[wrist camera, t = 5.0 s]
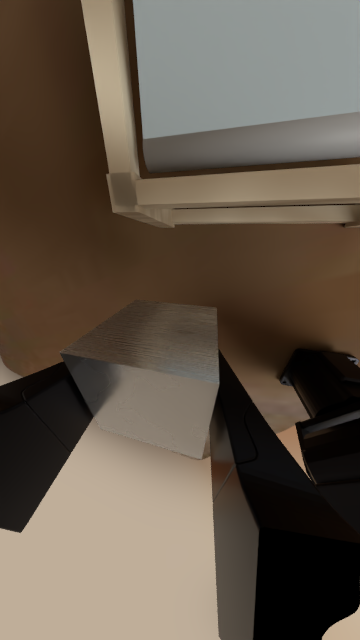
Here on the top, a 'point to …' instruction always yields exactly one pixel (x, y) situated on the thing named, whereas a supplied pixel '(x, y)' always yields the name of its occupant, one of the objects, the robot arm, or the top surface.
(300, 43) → the flap
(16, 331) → the top surface
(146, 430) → the steel cube
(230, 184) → the birch frame
